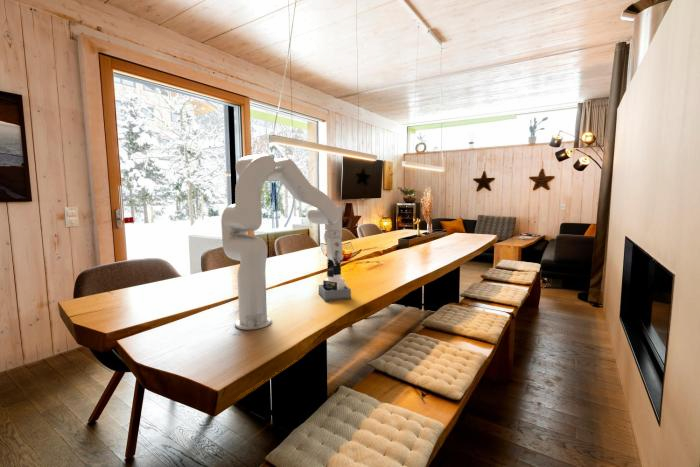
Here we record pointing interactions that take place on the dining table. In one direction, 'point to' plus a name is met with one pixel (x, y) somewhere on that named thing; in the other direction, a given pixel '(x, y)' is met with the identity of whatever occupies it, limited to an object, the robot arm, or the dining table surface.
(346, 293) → the grey square tray
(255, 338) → the dining table surface
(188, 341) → the dining table surface
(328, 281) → the medicine bottle
